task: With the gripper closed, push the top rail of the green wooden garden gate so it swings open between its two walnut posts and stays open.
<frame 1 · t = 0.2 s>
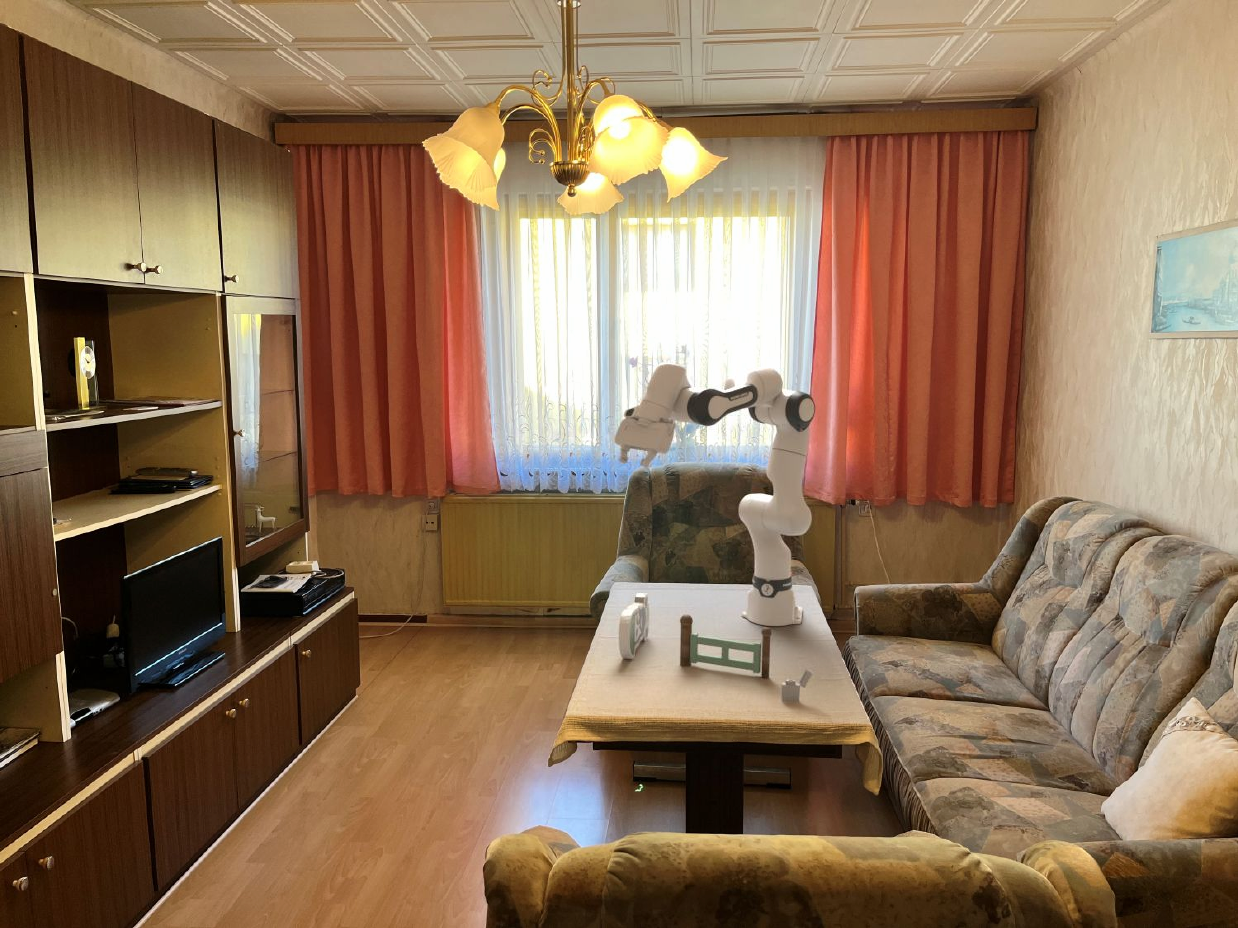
hand: (632, 464, 249), 54 cm above the table, tool tilted 30°, fingers open, 8 cm apart
cutout: (634, 650, 263), on the table
gate posts: (724, 670, 247), on the table
gate: (725, 652, 246), point 5 cm above the table, hinge at 0.0°
lighter: (796, 701, 227), on the table
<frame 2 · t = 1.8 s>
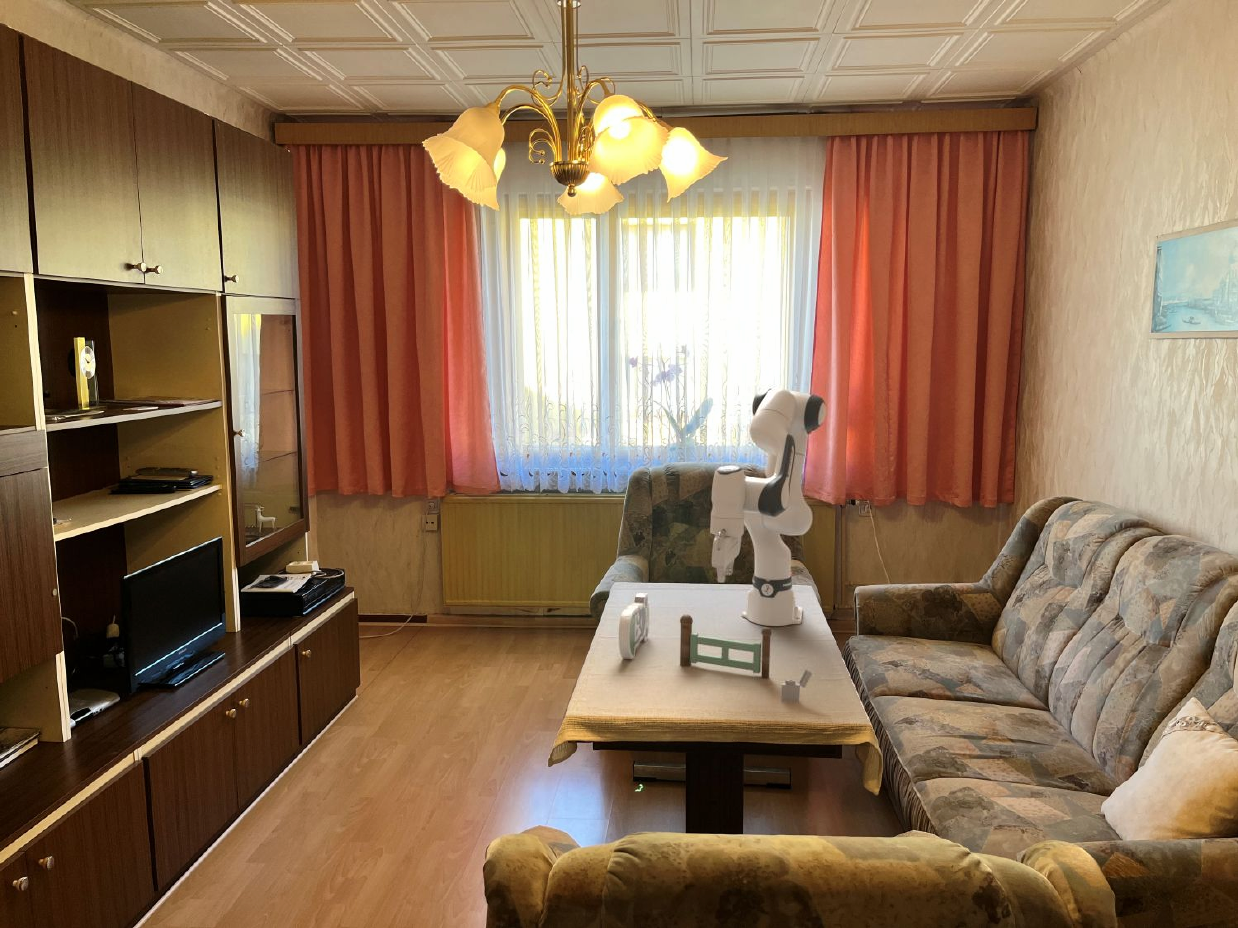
hand: (725, 578, 249), 24 cm above the table, tool pointing down, fingers open, 8 cm apart
nothing on the table moved.
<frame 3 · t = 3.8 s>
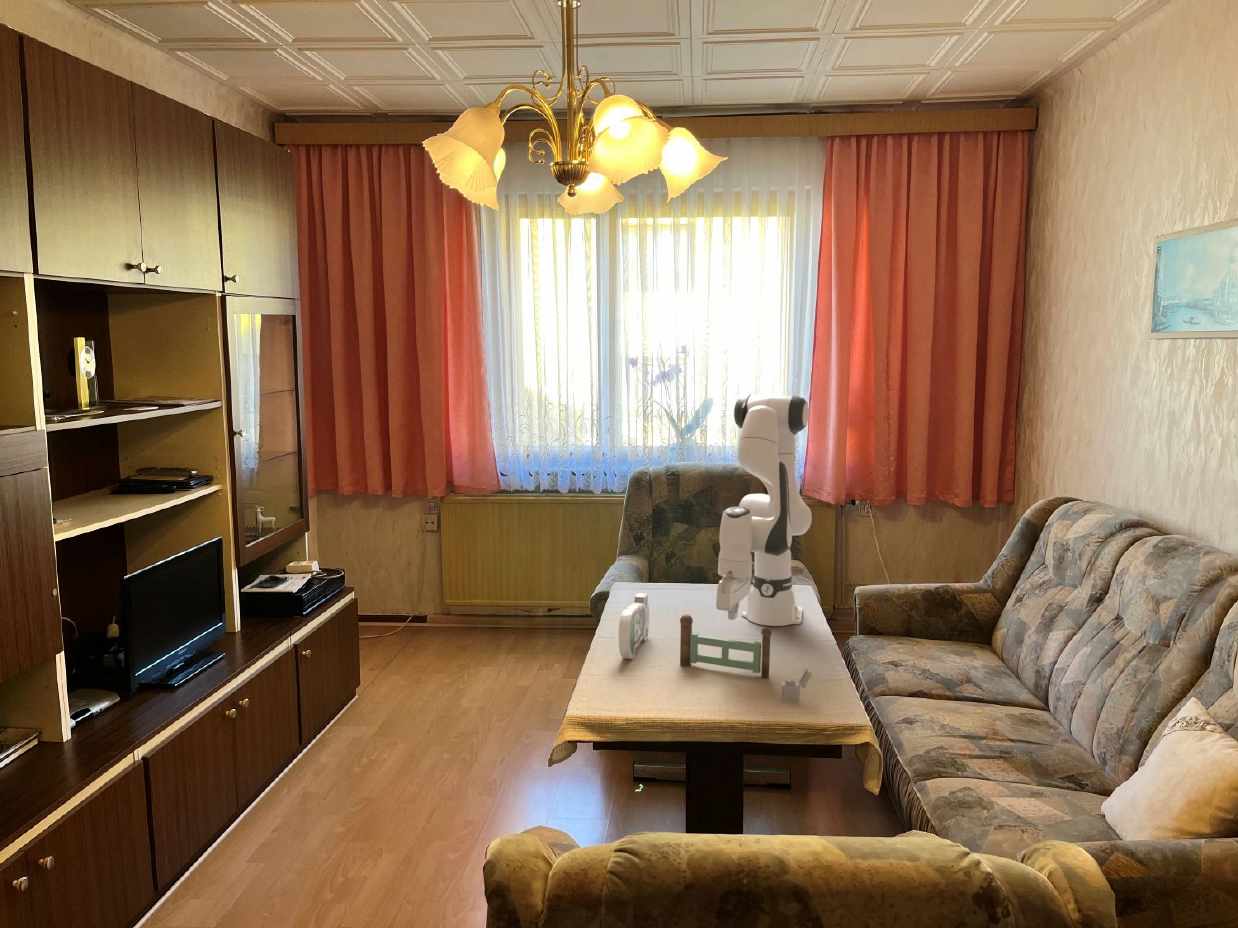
hand: (732, 618, 251), 12 cm above the table, tool pointing down, fingers closed
nothing on the table moved.
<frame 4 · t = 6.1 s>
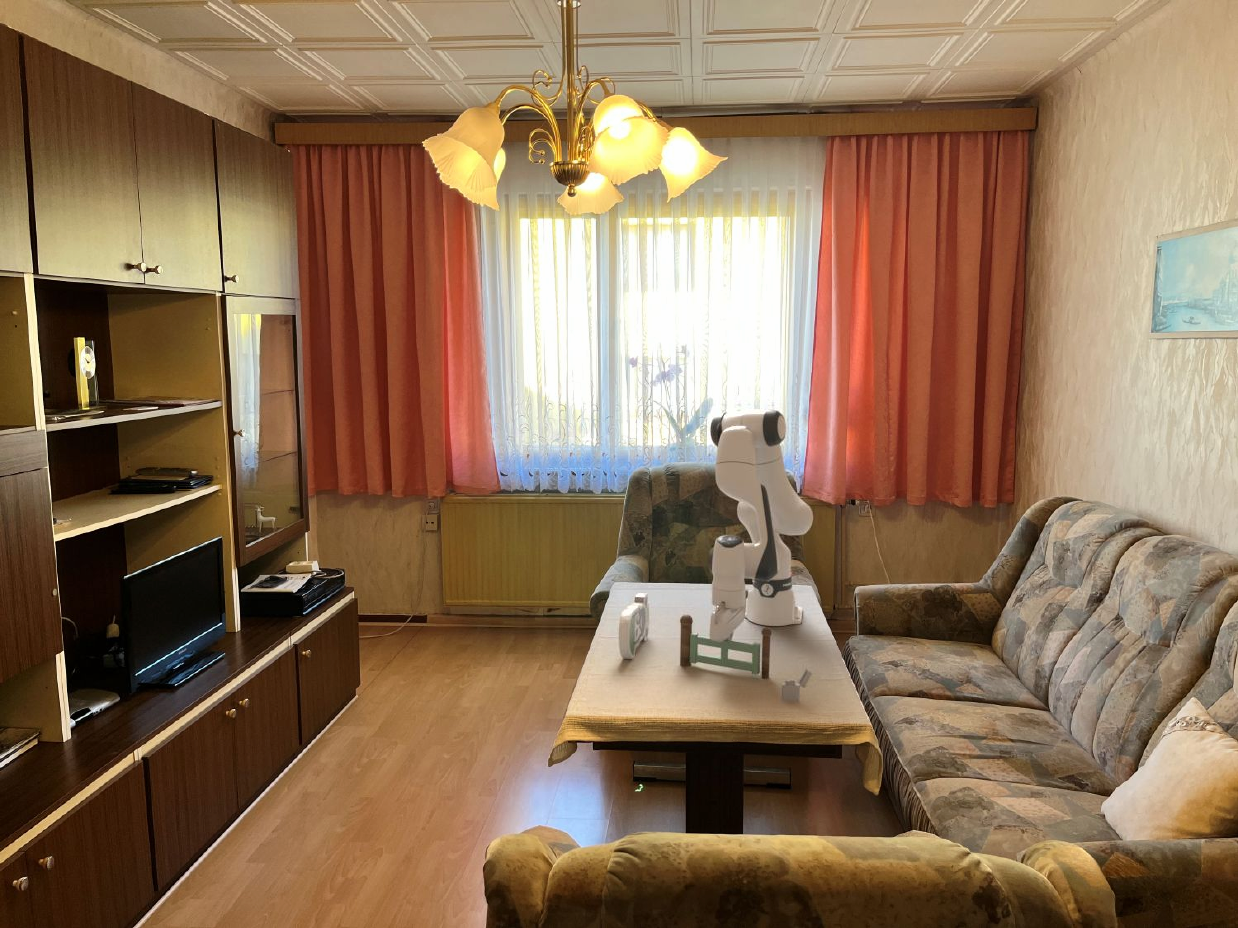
hand: (726, 647, 248), 6 cm above the table, tool pointing down, fingers closed
gate: (724, 653, 246), point 5 cm above the table, hinge at 2.8°, touching gripper
everything else where it was.
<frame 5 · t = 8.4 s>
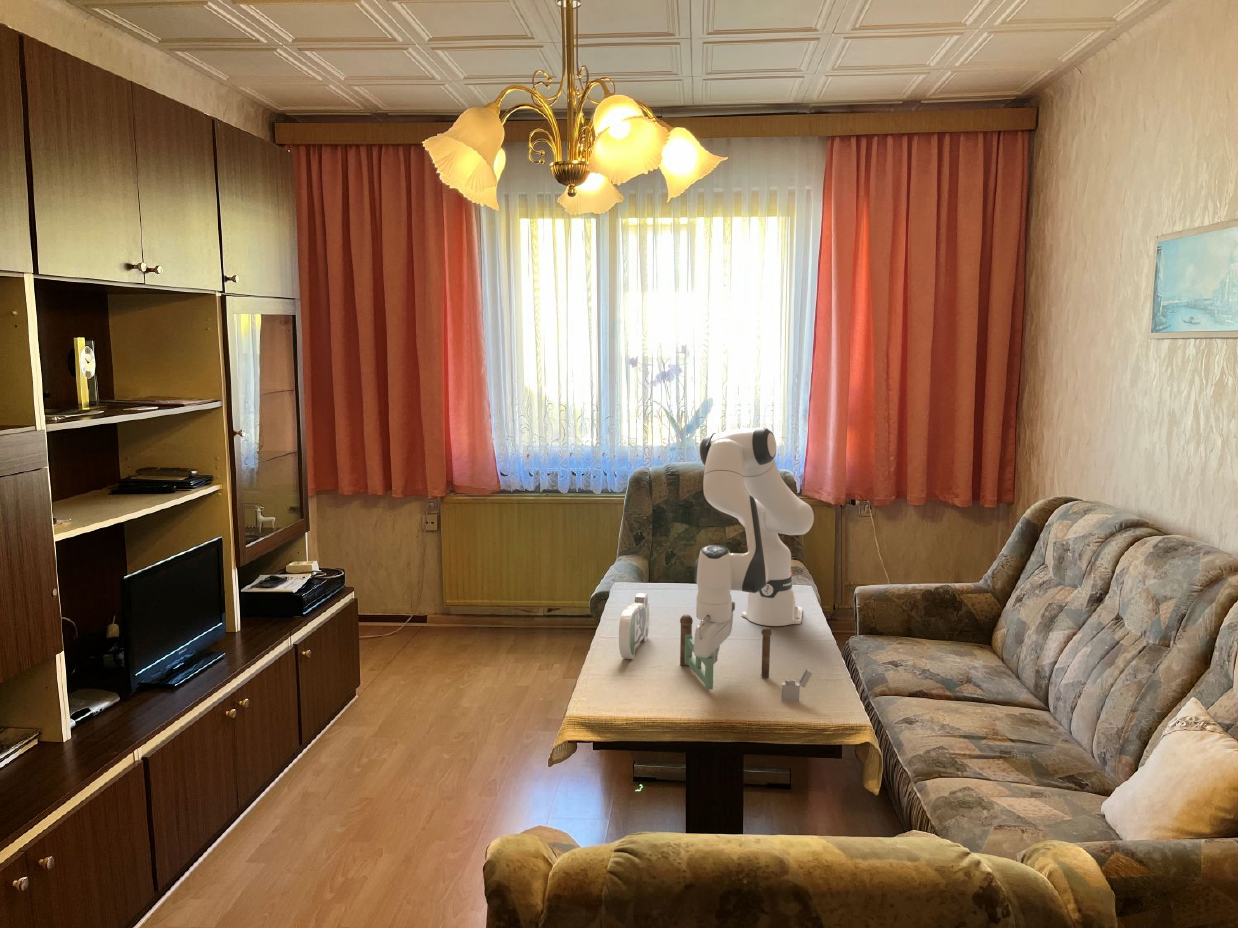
hand: (712, 662, 237), 6 cm above the table, tool pointing down, fingers closed
gate: (698, 660, 240), point 5 cm above the table, hinge at 53.2°, touching gripper
everything else where it was.
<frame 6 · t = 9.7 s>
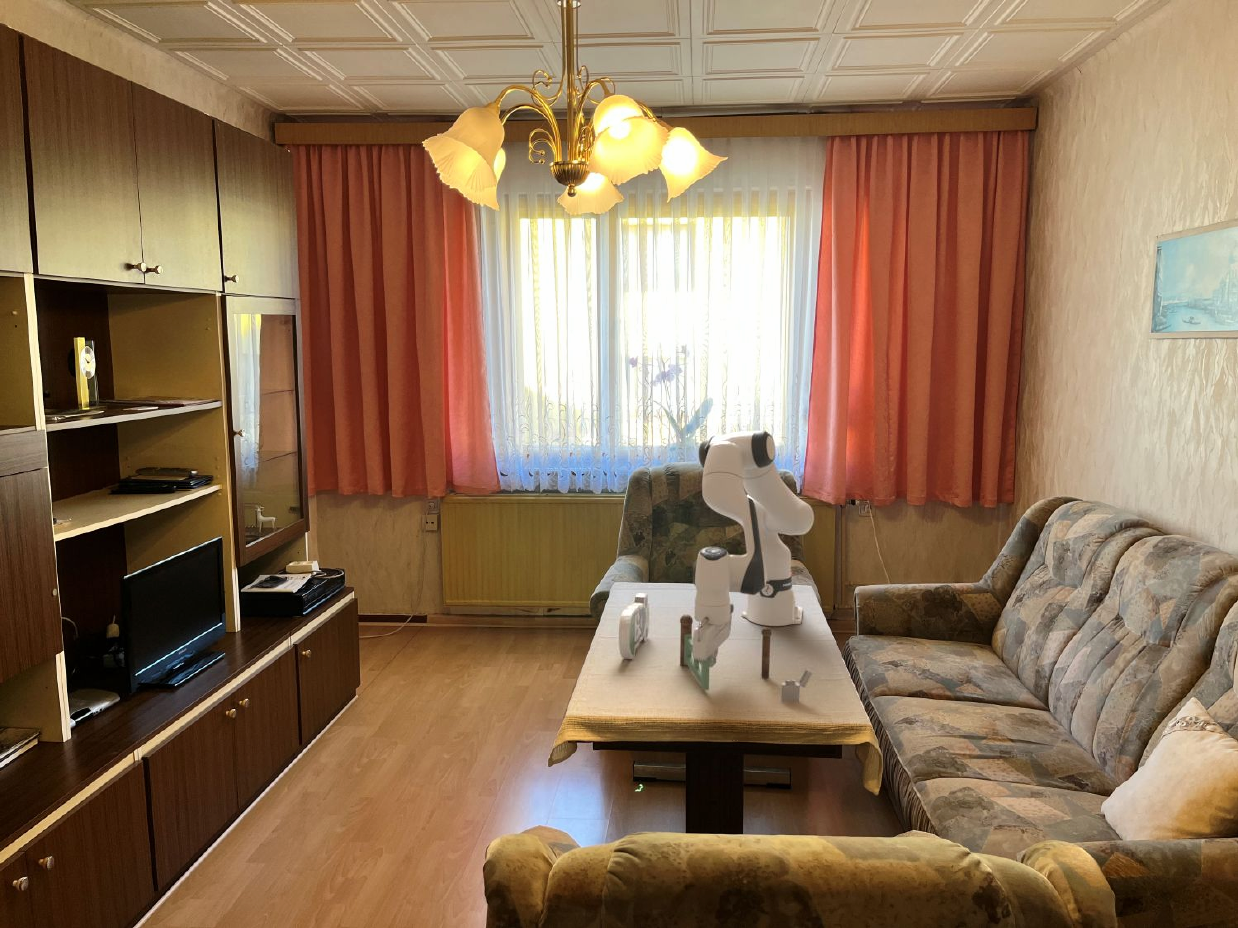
hand: (711, 665, 236), 6 cm above the table, tool pointing down, fingers closed
gate: (696, 660, 240), point 5 cm above the table, hinge at 56.1°, touching gripper
everything else where it was.
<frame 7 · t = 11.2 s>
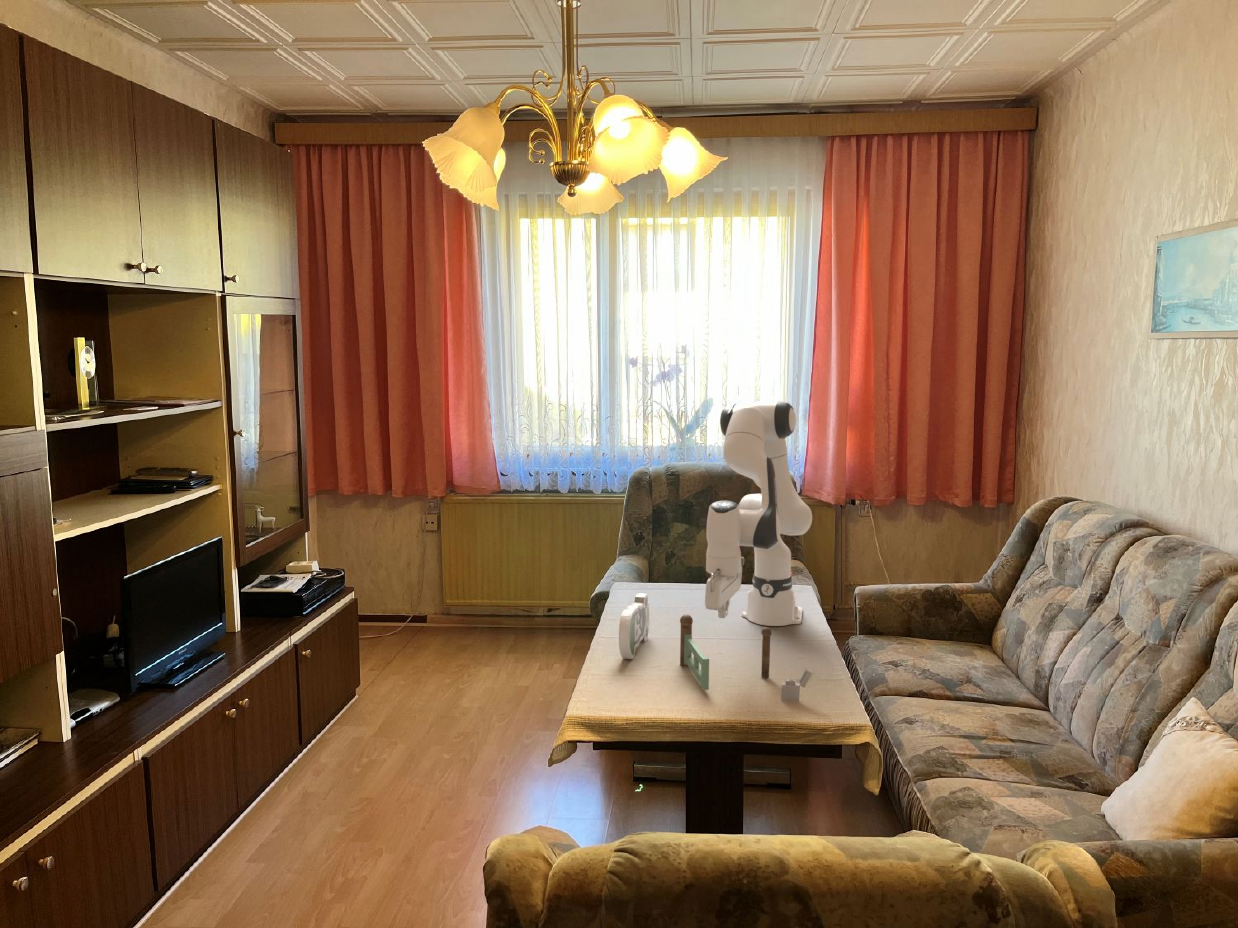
hand: (723, 616, 241), 16 cm above the table, tool pointing down, fingers closed
gate: (696, 660, 240), point 5 cm above the table, hinge at 56.3°
everything else where it was.
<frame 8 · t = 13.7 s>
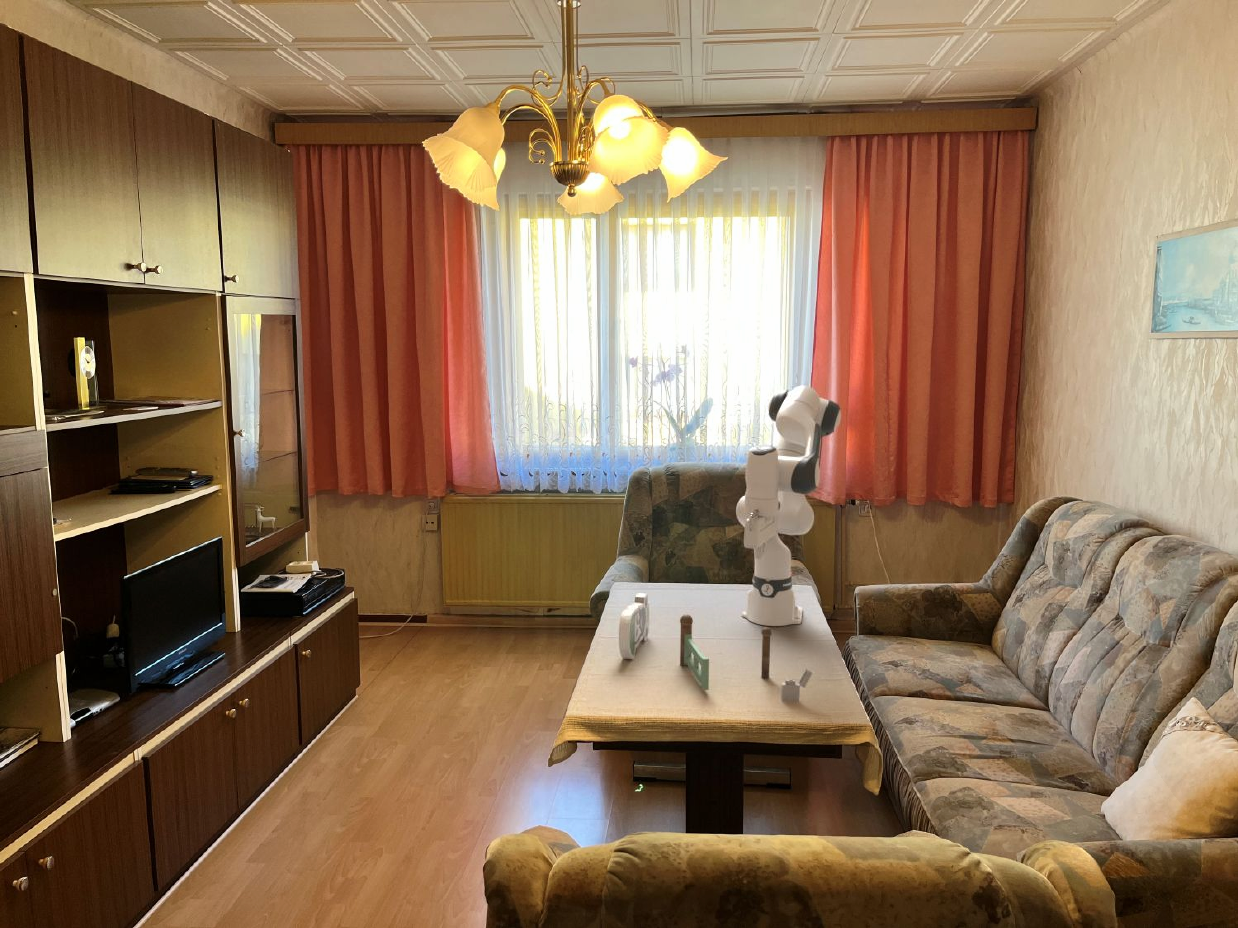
hand: (759, 557, 249), 29 cm above the table, tool pointing down, fingers closed
nothing on the table moved.
at the end: gate at +56° (first picture: +0°); lighter moved 0.2 cm from its start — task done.
